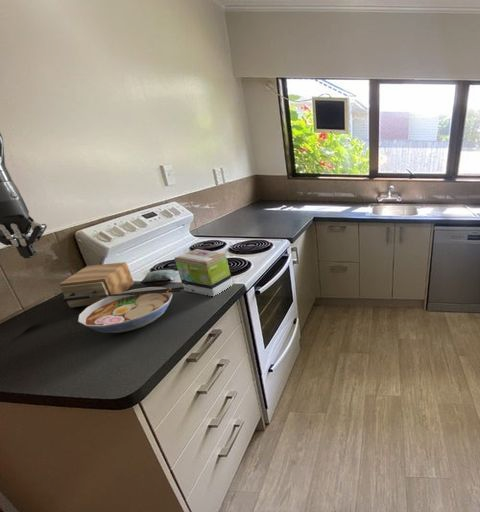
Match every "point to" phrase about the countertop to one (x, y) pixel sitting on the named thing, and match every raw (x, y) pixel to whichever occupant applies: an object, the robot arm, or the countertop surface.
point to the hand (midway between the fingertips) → (30, 257)
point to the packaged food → (159, 277)
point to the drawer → (84, 293)
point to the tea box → (204, 272)
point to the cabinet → (104, 277)
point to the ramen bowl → (127, 309)
